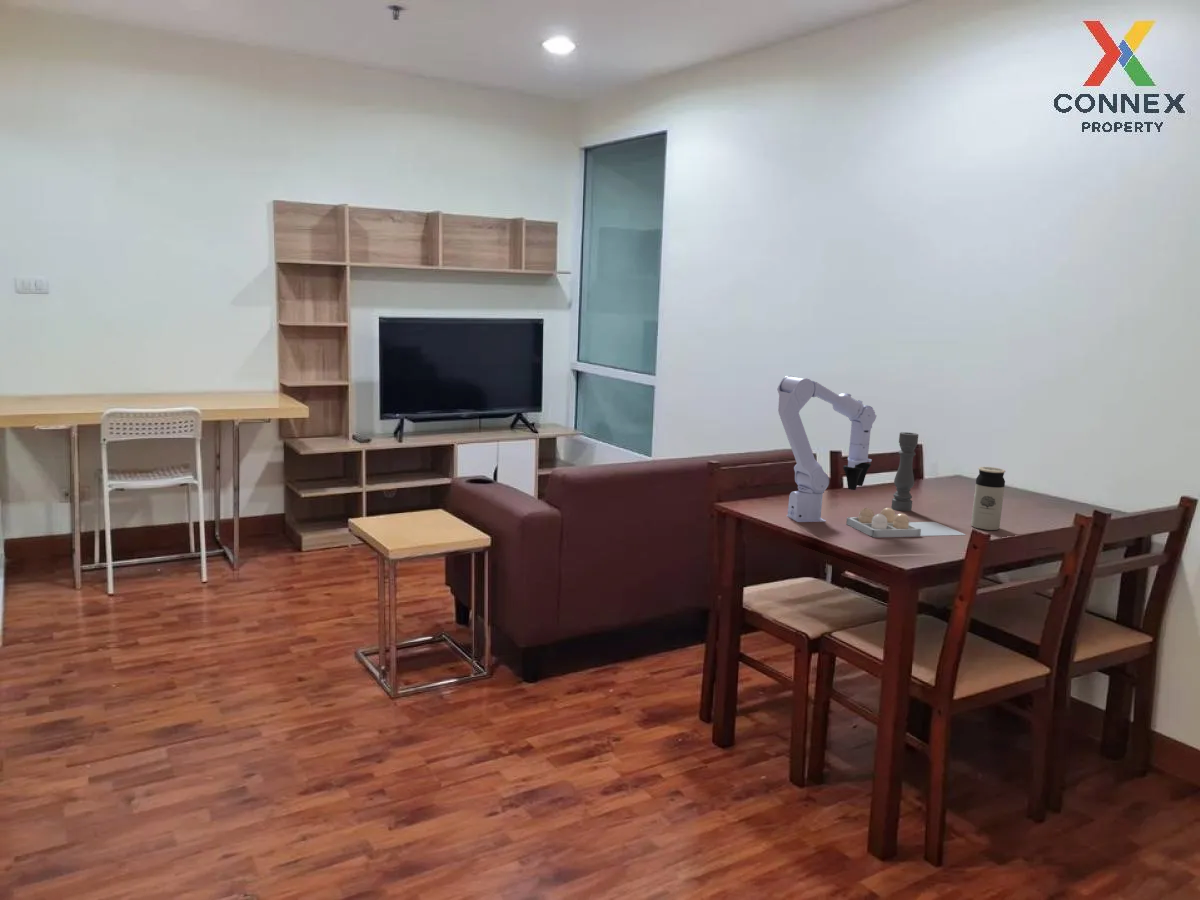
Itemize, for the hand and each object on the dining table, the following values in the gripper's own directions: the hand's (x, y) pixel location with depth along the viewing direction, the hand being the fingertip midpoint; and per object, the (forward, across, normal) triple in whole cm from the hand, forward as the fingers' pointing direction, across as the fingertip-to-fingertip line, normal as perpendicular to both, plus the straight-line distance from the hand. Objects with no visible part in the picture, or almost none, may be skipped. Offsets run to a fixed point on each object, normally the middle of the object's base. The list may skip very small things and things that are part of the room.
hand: (855, 487), depth 277 cm
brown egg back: (+9, -12, -17) cm, 23 cm away
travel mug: (+10, +15, -36) cm, 40 cm away
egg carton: (+9, -7, -17) cm, 21 cm away
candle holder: (+10, +21, -10) cm, 25 cm away
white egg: (+9, -17, -12) cm, 23 cm away
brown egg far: (+9, -7, -12) cm, 17 cm away
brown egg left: (+9, -12, -7) cm, 17 cm away
